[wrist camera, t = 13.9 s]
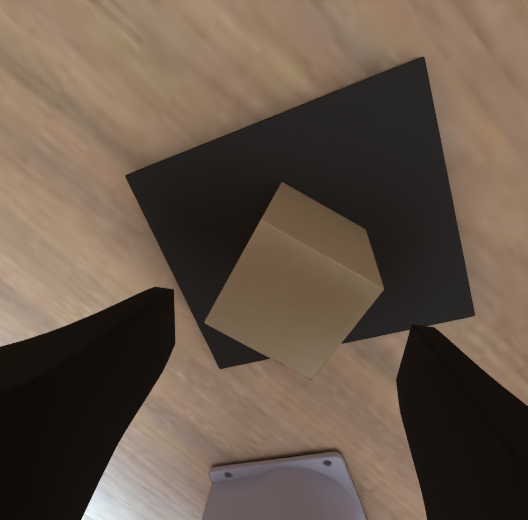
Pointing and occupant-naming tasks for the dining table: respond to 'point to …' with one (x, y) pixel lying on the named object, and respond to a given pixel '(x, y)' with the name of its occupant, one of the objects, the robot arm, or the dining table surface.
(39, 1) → the dining table surface
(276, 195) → the block
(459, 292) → the mat
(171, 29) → the dining table surface
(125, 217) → the dining table surface
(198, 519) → the dining table surface
